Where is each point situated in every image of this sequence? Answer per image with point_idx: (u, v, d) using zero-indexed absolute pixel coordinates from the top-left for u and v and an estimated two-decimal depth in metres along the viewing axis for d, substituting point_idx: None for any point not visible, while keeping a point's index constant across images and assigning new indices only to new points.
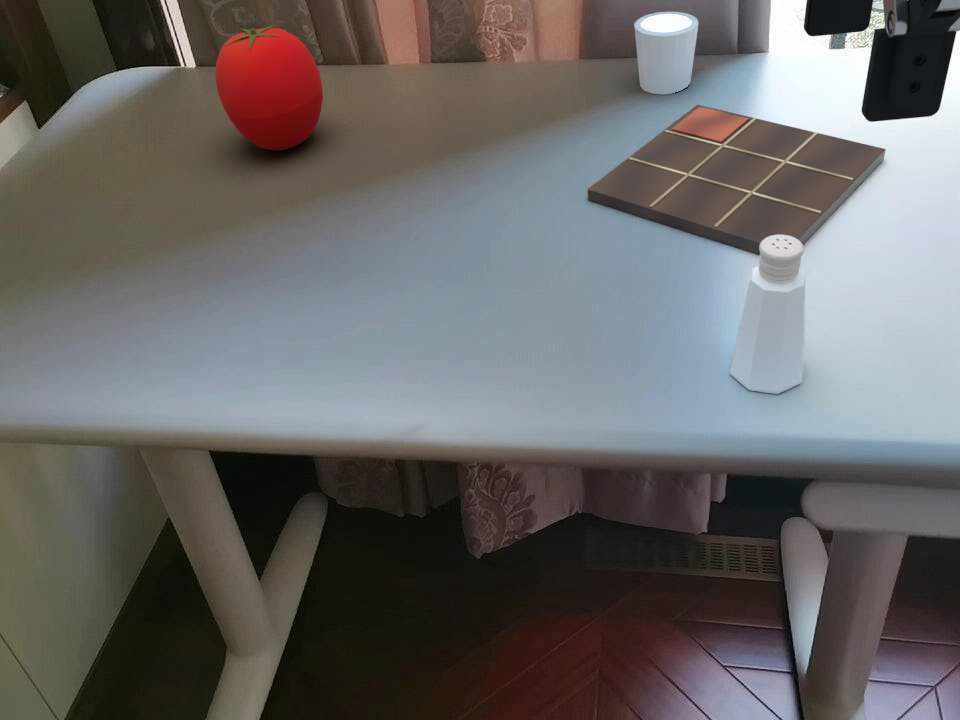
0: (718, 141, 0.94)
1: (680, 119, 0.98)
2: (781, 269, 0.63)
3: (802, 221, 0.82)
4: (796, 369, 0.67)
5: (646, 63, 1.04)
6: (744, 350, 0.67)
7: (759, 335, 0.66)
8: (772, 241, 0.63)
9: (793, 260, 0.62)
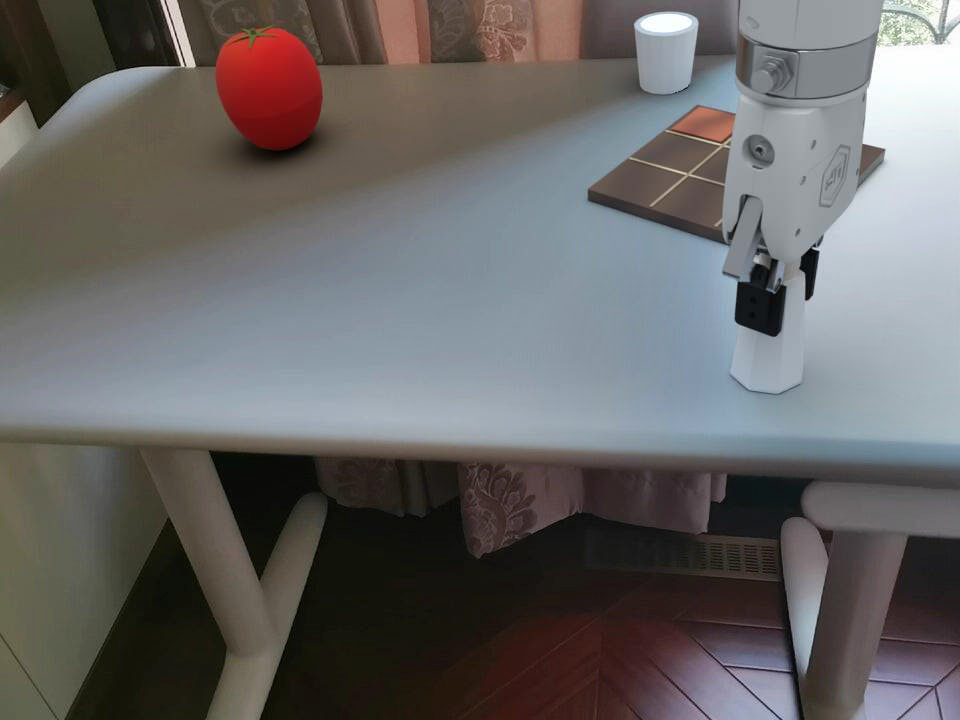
0: (718, 141, 0.94)
1: (680, 119, 0.98)
2: None
3: None
4: (796, 369, 0.67)
5: (646, 63, 1.04)
6: (744, 350, 0.67)
7: (759, 335, 0.66)
8: None
9: (793, 261, 0.62)
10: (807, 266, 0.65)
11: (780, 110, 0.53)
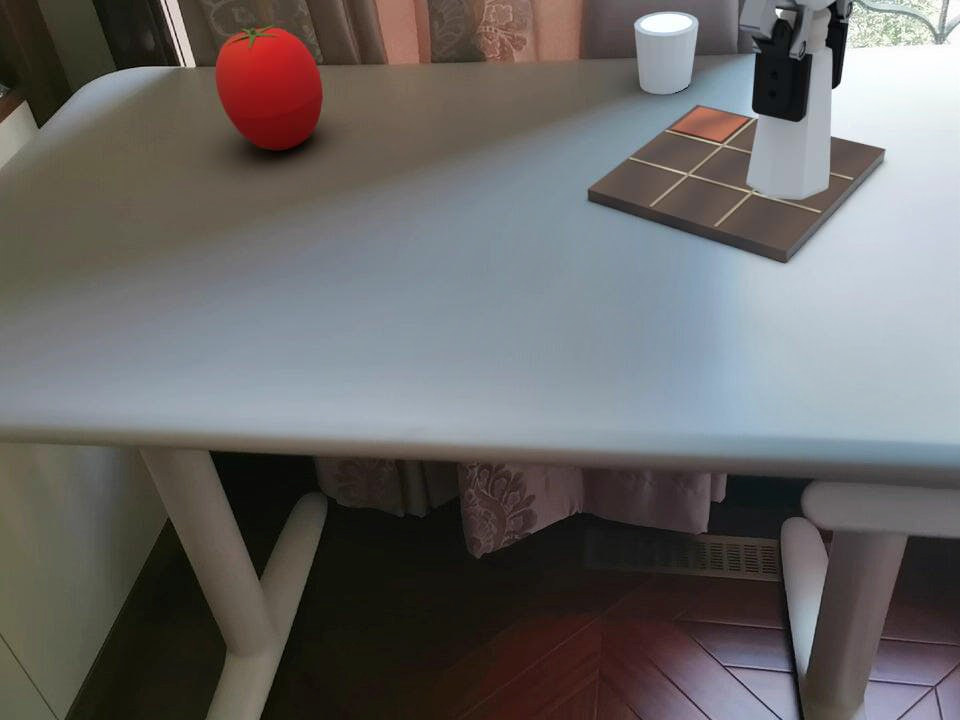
0: (718, 141, 0.94)
1: (680, 119, 0.98)
2: None
3: (802, 221, 0.82)
4: (822, 169, 0.59)
5: (646, 63, 1.04)
6: (762, 149, 0.59)
7: (780, 125, 0.57)
8: None
9: (819, 26, 0.54)
10: (834, 43, 0.57)
11: None
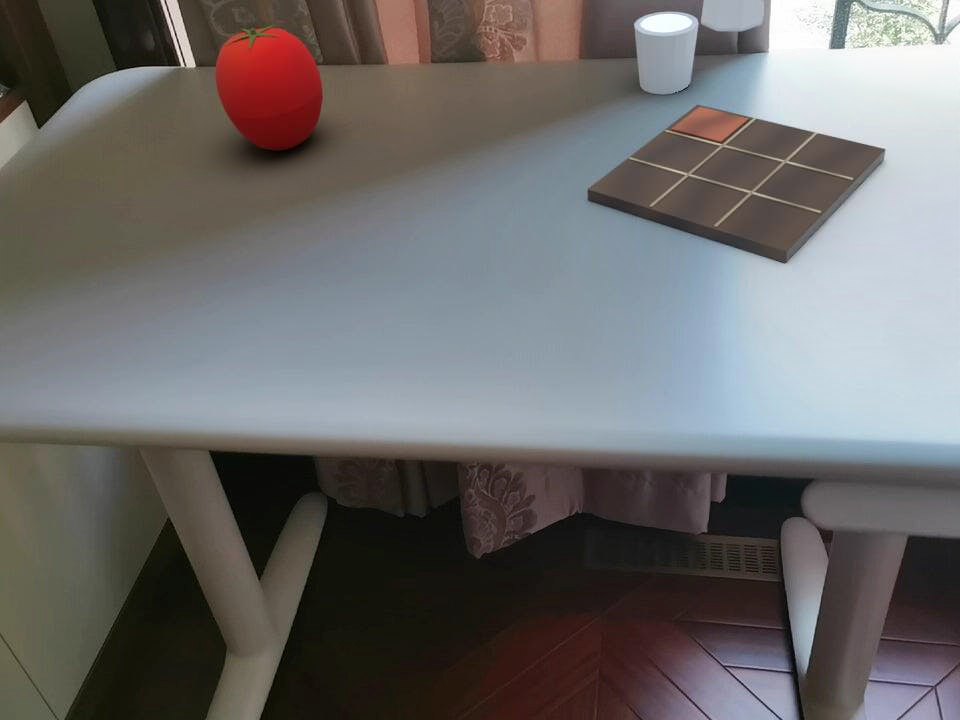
0: (718, 141, 0.94)
1: (680, 119, 0.98)
2: None
3: (802, 221, 0.82)
4: (757, 7, 0.78)
5: (646, 63, 1.04)
6: None
7: None
8: None
9: None
10: None
11: None
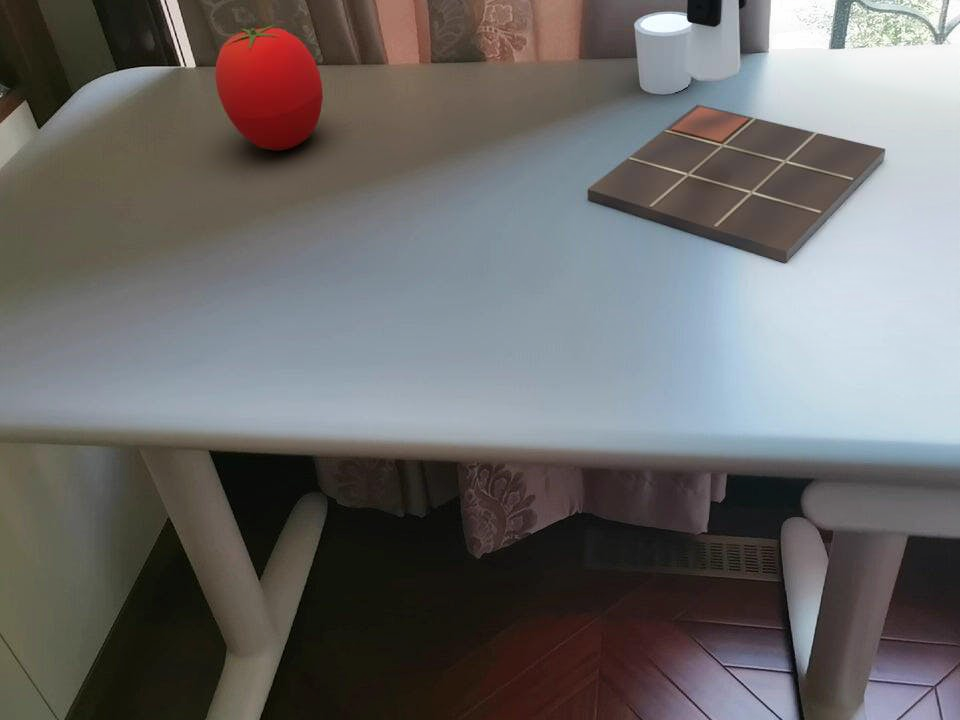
0: (718, 141, 0.94)
1: (680, 119, 0.98)
2: None
3: (802, 221, 0.82)
4: (733, 61, 0.91)
5: (646, 63, 1.04)
6: (694, 47, 0.91)
7: (704, 29, 0.89)
8: None
9: None
10: None
11: None
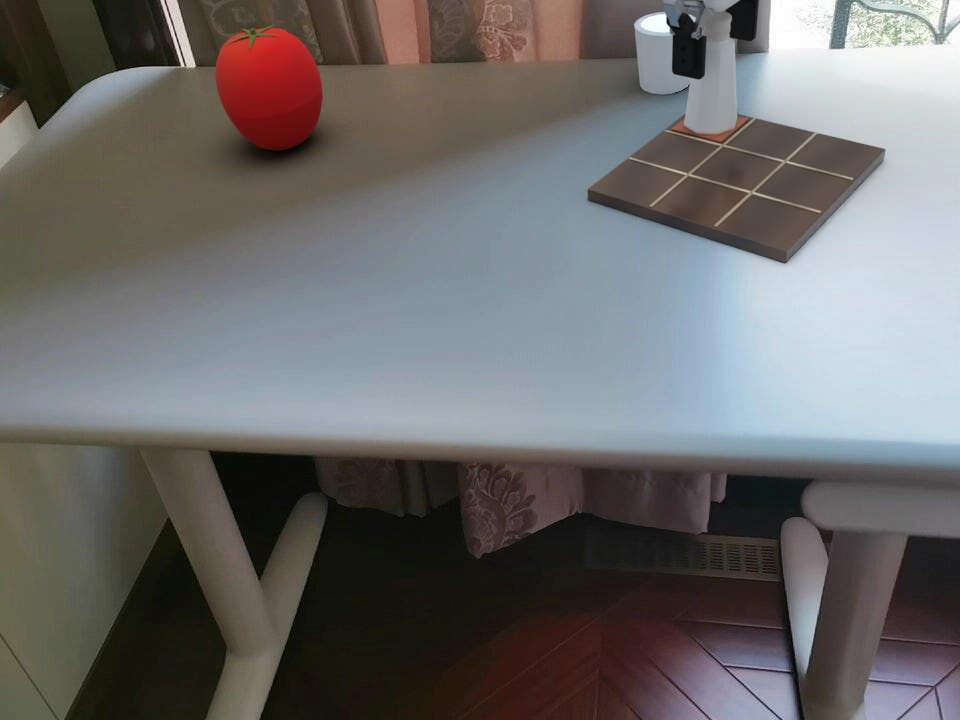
0: (718, 141, 0.94)
1: (680, 119, 0.98)
2: (716, 32, 0.89)
3: (802, 221, 0.82)
4: (730, 115, 0.94)
5: (646, 63, 1.04)
6: (692, 102, 0.94)
7: (702, 86, 0.92)
8: (710, 14, 0.90)
9: (724, 25, 0.89)
10: (750, 11, 0.92)
11: None
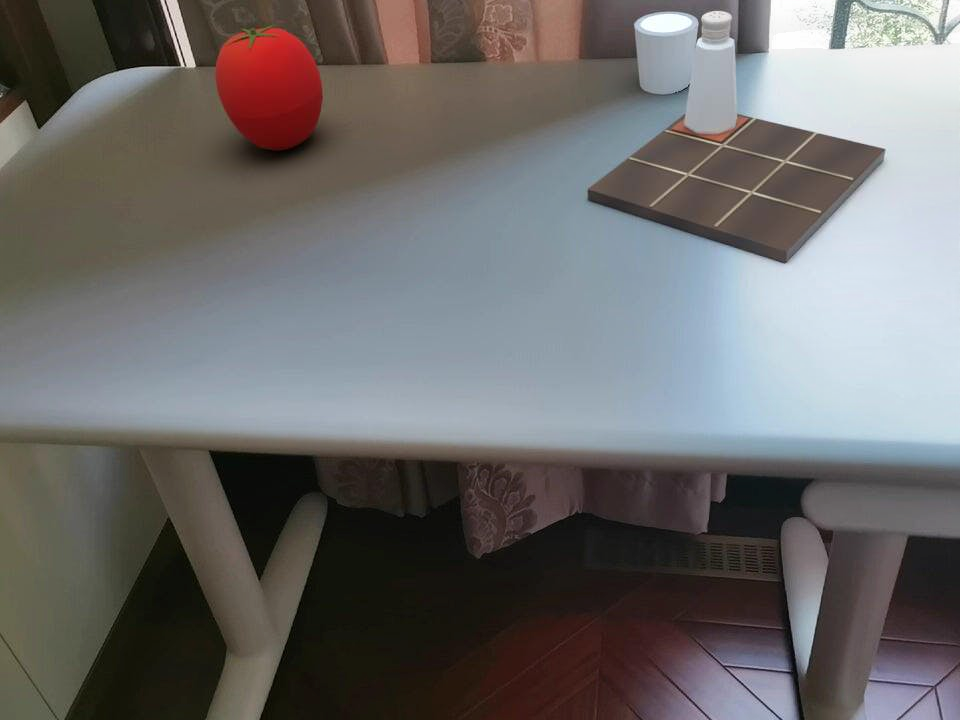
0: (718, 141, 0.94)
1: (680, 119, 0.98)
2: (716, 32, 0.89)
3: (802, 221, 0.82)
4: (730, 115, 0.94)
5: (646, 63, 1.04)
6: (692, 102, 0.94)
7: (702, 86, 0.92)
8: (710, 14, 0.90)
9: (724, 25, 0.89)
10: None
11: None
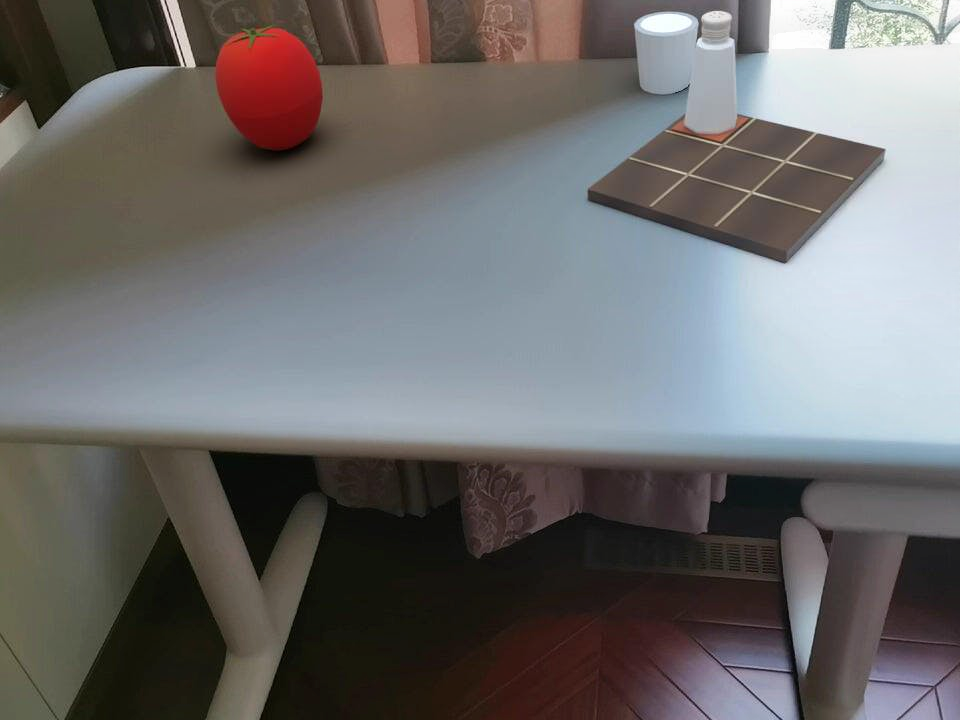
0: (718, 141, 0.94)
1: (680, 119, 0.98)
2: (716, 32, 0.89)
3: (802, 221, 0.82)
4: (730, 115, 0.94)
5: (646, 63, 1.04)
6: (692, 102, 0.94)
7: (702, 86, 0.92)
8: (710, 14, 0.90)
9: (724, 25, 0.89)
10: None
11: None
